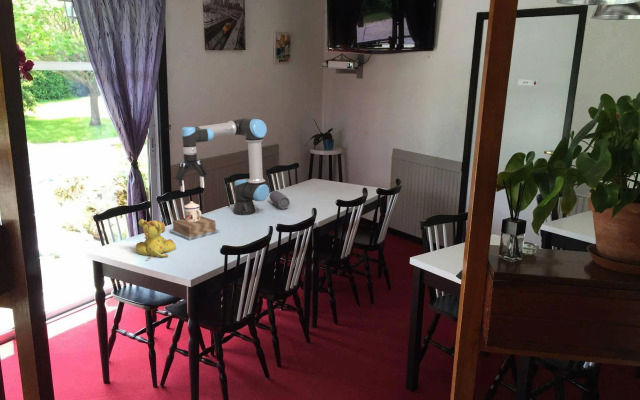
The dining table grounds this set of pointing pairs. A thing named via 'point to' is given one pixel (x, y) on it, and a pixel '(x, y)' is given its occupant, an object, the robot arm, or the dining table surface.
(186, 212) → the teacup with lid
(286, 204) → the bluetooth speaker
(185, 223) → the plinth
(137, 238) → the dining table surface
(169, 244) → the giraffe plush
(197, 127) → the robot arm
